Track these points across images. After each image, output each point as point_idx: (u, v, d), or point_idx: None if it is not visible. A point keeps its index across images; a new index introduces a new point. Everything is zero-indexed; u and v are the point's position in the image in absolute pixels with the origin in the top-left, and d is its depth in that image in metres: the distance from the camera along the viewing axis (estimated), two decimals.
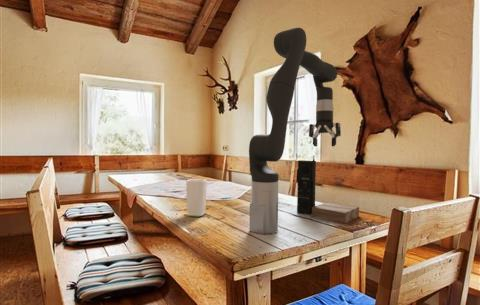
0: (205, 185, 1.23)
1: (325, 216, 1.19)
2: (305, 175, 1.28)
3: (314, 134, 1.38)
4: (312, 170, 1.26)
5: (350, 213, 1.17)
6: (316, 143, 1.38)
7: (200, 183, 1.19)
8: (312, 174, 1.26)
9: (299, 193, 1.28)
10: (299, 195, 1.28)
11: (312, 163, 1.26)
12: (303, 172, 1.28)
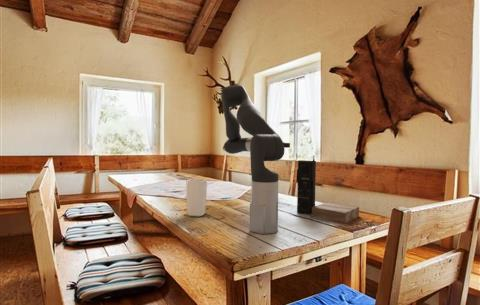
0: (205, 185, 1.23)
1: (325, 216, 1.19)
2: (305, 175, 1.28)
3: None
4: (312, 170, 1.26)
5: (350, 213, 1.17)
6: None
7: (200, 183, 1.19)
8: (312, 174, 1.26)
9: (299, 193, 1.28)
10: (299, 195, 1.28)
11: (312, 163, 1.26)
12: (303, 172, 1.28)
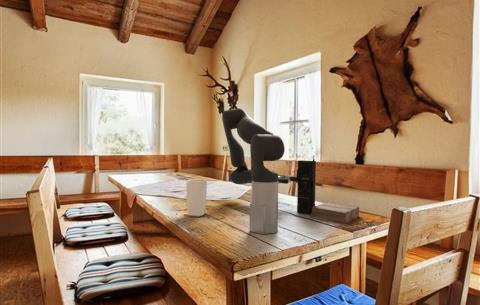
0: (205, 185, 1.23)
1: (325, 216, 1.19)
2: (305, 175, 1.28)
3: (277, 177, 1.34)
4: (312, 170, 1.26)
5: (350, 213, 1.17)
6: None
7: (200, 183, 1.19)
8: (312, 174, 1.26)
9: (299, 193, 1.28)
10: (299, 195, 1.28)
11: (312, 163, 1.26)
12: (303, 172, 1.28)
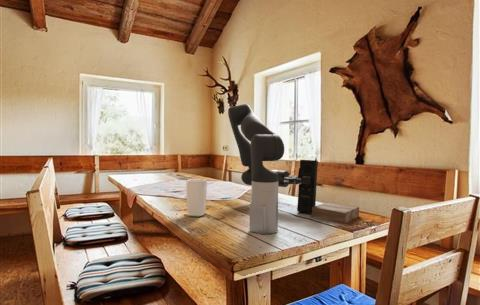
0: (205, 185, 1.23)
1: (325, 216, 1.19)
2: (307, 174, 1.29)
3: (297, 178, 1.30)
4: (314, 169, 1.27)
5: (350, 213, 1.17)
6: None
7: (200, 183, 1.19)
8: (314, 173, 1.27)
9: (300, 192, 1.29)
10: (300, 194, 1.29)
11: (314, 162, 1.27)
12: (305, 170, 1.29)
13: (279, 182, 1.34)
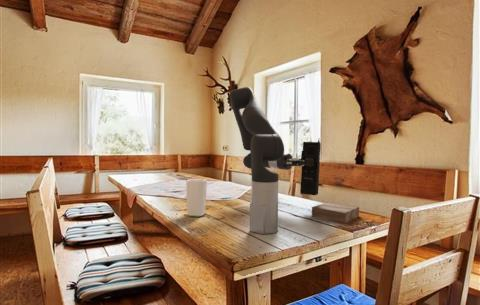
0: (205, 185, 1.23)
1: (325, 216, 1.19)
2: (310, 156, 1.28)
3: (300, 160, 1.29)
4: (317, 151, 1.26)
5: (350, 213, 1.17)
6: None
7: (200, 183, 1.19)
8: (317, 155, 1.26)
9: (303, 174, 1.28)
10: (303, 176, 1.28)
11: (317, 144, 1.26)
12: (308, 153, 1.28)
13: (282, 164, 1.34)
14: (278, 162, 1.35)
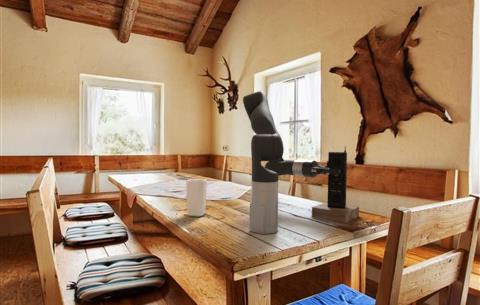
0: (205, 185, 1.23)
1: (325, 216, 1.19)
2: (336, 167, 1.21)
3: (325, 167, 1.22)
4: (344, 162, 1.20)
5: (350, 213, 1.17)
6: None
7: (200, 183, 1.19)
8: (344, 166, 1.20)
9: (330, 186, 1.22)
10: (330, 188, 1.22)
11: (344, 154, 1.20)
12: (334, 164, 1.21)
13: (307, 172, 1.27)
14: (303, 170, 1.28)
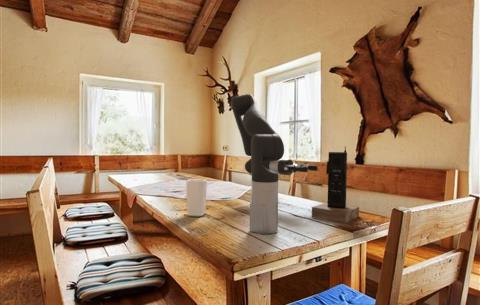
0: (205, 185, 1.23)
1: (325, 216, 1.19)
2: (336, 167, 1.21)
3: (296, 166, 1.30)
4: (344, 162, 1.20)
5: (350, 213, 1.17)
6: None
7: (200, 183, 1.19)
8: (344, 166, 1.20)
9: (330, 186, 1.22)
10: (330, 188, 1.22)
11: (344, 154, 1.19)
12: (334, 164, 1.21)
13: (283, 170, 1.36)
14: (279, 168, 1.37)
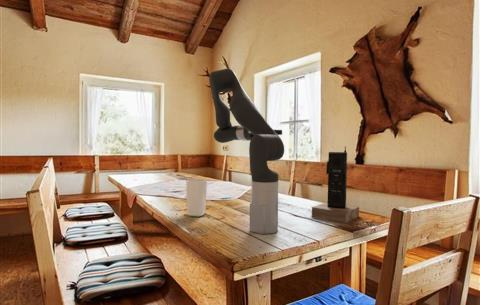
0: (205, 185, 1.23)
1: (325, 216, 1.19)
2: (336, 167, 1.21)
3: None
4: (344, 162, 1.20)
5: (350, 213, 1.17)
6: None
7: (200, 183, 1.19)
8: (344, 166, 1.20)
9: (330, 186, 1.22)
10: (330, 188, 1.22)
11: (344, 154, 1.19)
12: (334, 164, 1.21)
13: (248, 135, 1.36)
14: (245, 133, 1.37)
